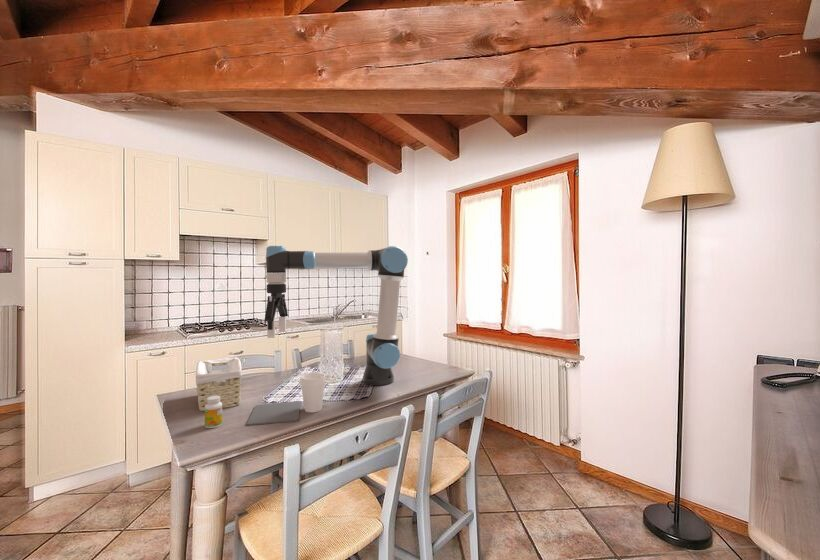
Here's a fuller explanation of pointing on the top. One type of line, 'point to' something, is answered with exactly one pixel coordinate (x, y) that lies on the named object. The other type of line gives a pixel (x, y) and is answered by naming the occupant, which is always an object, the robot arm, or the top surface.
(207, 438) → the top surface
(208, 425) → the supplement bottle
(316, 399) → the foam cup
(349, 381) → the top surface
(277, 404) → the charcoal mat
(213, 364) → the storage basket
